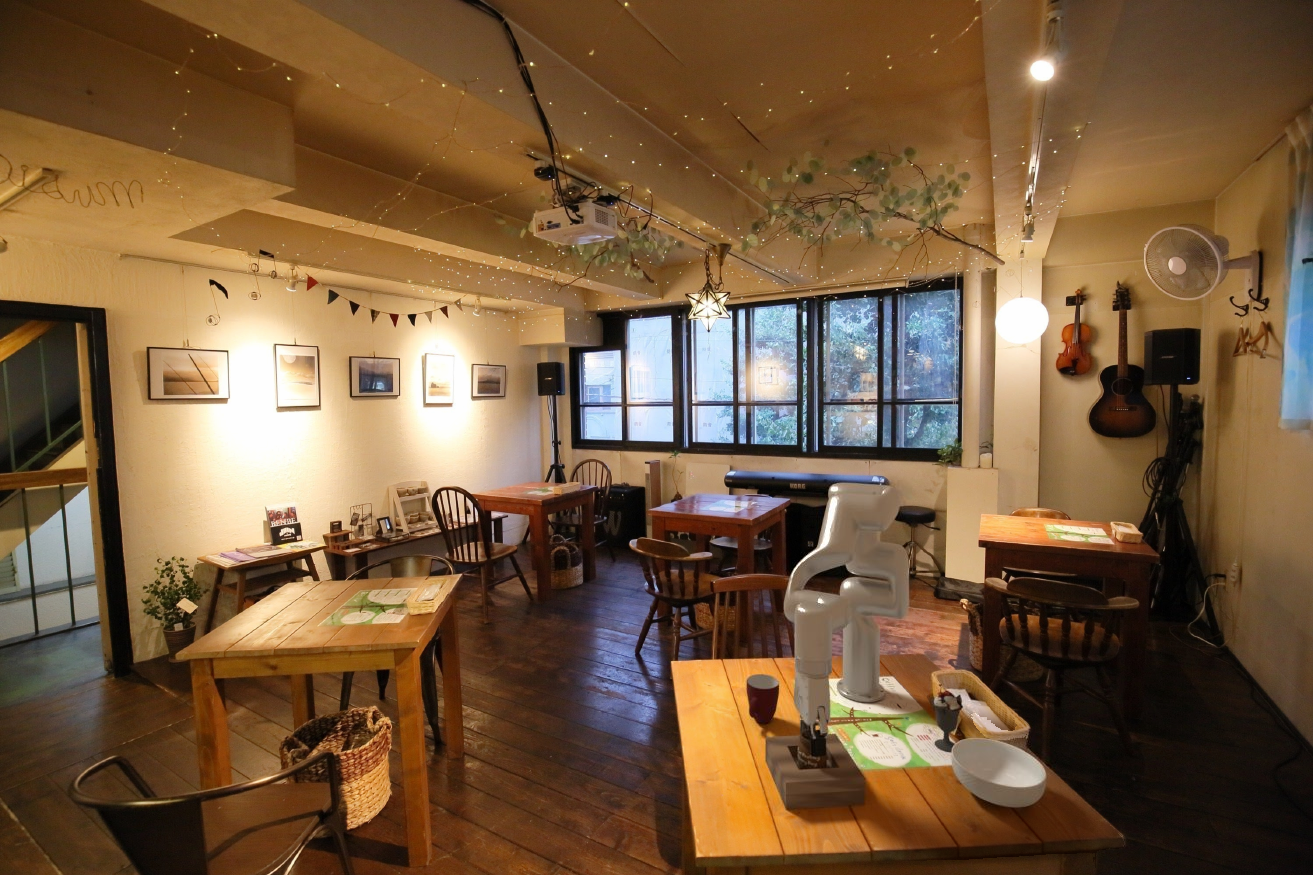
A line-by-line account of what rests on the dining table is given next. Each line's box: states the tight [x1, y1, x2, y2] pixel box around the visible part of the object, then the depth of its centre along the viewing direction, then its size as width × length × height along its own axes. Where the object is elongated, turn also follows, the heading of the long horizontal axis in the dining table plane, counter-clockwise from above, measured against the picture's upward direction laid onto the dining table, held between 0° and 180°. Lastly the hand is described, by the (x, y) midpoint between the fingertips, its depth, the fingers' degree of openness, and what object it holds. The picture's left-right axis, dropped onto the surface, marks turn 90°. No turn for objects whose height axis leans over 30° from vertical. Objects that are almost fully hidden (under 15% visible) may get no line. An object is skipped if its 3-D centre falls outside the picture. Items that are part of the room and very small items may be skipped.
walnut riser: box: [764, 733, 866, 810], centre depth 127 cm, size 16×16×6 cm
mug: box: [745, 673, 780, 725], centre depth 151 cm, size 11×8×10 cm
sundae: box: [930, 683, 964, 753], centre depth 139 cm, size 7×7×15 cm
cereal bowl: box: [950, 737, 1048, 808], centre depth 123 cm, size 17×17×7 cm
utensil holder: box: [798, 715, 827, 770], centre depth 127 cm, size 6×6×12 cm
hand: (812, 745), depth 127 cm, fingers closed on utensil holder, 5 cm apart
